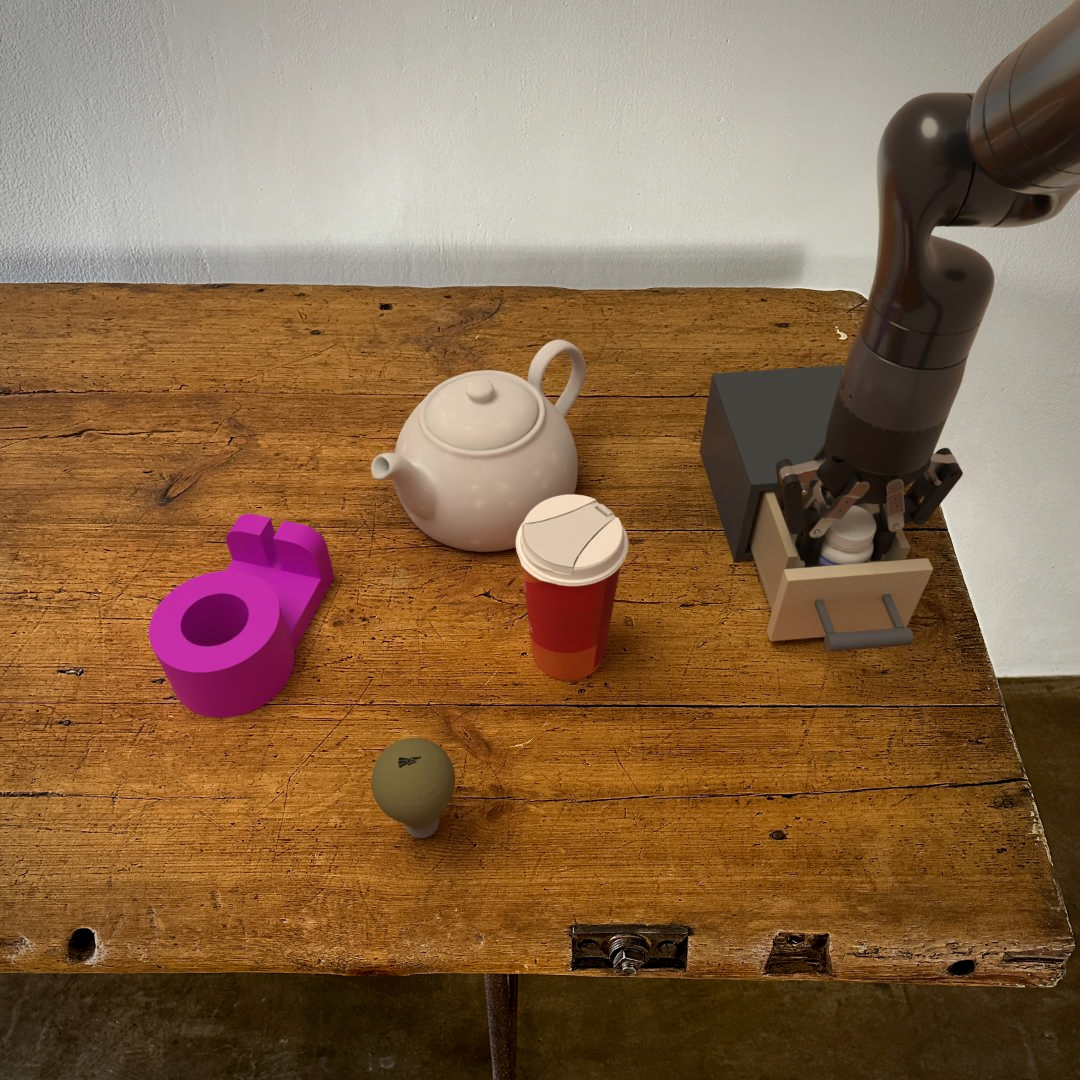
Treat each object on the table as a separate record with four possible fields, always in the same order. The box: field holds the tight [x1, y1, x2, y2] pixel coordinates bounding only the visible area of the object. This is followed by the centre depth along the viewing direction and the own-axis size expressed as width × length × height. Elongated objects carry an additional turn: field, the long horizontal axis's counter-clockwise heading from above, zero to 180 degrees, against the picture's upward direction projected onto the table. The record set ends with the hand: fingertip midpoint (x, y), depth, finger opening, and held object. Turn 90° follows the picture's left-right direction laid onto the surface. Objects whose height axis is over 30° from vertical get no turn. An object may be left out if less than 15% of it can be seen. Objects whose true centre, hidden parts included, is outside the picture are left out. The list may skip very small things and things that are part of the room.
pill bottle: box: [804, 506, 876, 568], centre depth 79 cm, size 5×5×8 cm
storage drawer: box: [748, 487, 934, 653], centre depth 81 cm, size 18×12×8 cm, turn 6°
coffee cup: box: [515, 494, 629, 682], centre depth 75 cm, size 8×8×15 cm
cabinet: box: [699, 364, 845, 562], centre depth 89 cm, size 15×13×10 cm
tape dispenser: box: [148, 513, 335, 719], centre depth 80 cm, size 16×10×6 cm, turn 165°
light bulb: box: [370, 737, 456, 839], centre depth 67 cm, size 6×6×10 cm
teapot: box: [370, 339, 587, 553], centre depth 88 cm, size 19×18×14 cm
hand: (839, 555), depth 79 cm, fingers closed on pill bottle, 4 cm apart
